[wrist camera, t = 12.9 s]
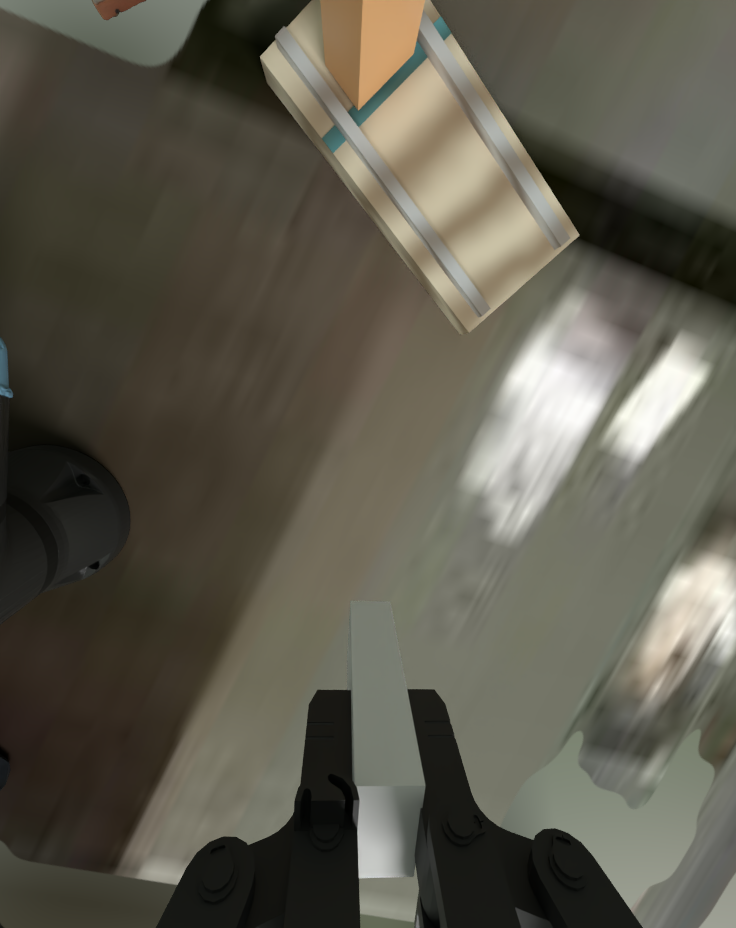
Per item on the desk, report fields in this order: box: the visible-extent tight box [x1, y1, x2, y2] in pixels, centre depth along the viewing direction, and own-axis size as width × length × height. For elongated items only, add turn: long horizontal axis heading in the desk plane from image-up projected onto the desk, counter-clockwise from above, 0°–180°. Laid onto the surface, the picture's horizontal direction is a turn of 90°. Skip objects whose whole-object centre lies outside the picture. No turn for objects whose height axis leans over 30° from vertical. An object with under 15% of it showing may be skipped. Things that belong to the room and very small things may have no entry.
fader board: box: [260, 0, 579, 335], centre depth 34 cm, size 28×13×4 cm, turn 41°
